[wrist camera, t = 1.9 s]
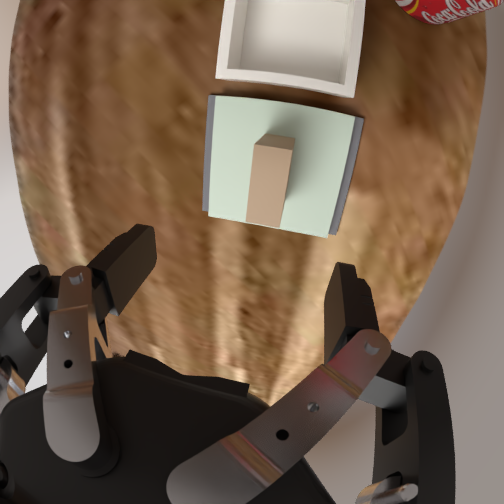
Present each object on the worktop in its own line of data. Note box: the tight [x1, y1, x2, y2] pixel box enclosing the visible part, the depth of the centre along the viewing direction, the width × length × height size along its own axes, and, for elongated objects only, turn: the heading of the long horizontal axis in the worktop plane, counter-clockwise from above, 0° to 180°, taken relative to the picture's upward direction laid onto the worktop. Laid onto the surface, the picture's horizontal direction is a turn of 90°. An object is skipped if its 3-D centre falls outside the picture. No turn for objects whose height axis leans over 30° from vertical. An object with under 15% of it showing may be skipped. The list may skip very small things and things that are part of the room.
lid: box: [208, 96, 355, 238], centre depth 22 cm, size 12×12×6 cm
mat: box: [202, 95, 364, 235], centre depth 25 cm, size 12×14×1 cm
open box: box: [216, 0, 366, 98], centre depth 16 cm, size 10×10×5 cm
